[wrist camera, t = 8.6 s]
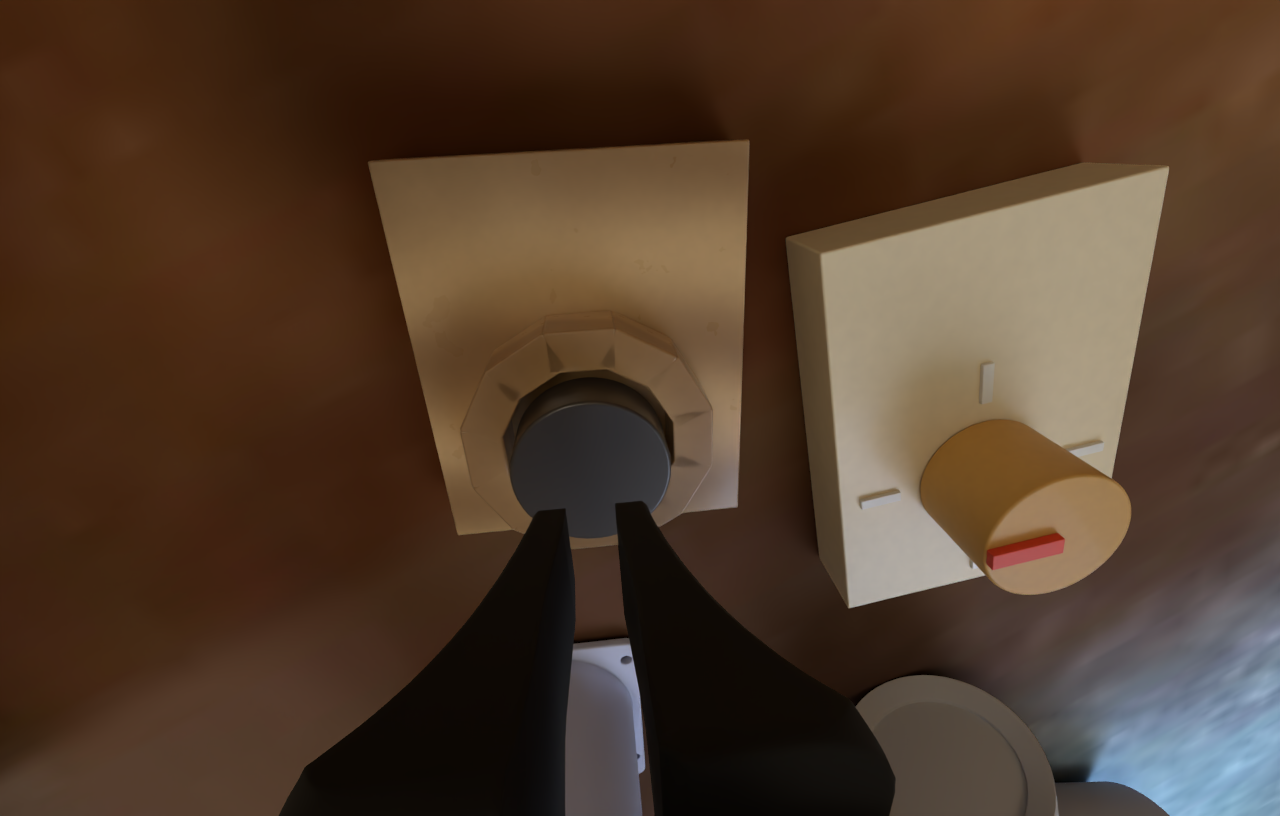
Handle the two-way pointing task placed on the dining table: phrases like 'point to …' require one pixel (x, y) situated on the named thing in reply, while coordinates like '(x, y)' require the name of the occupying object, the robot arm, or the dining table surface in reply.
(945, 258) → the dimmer panel
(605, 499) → the button
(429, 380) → the switch box
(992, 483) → the dimmer knob
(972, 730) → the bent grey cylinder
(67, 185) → the dining table surface
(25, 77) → the dining table surface
